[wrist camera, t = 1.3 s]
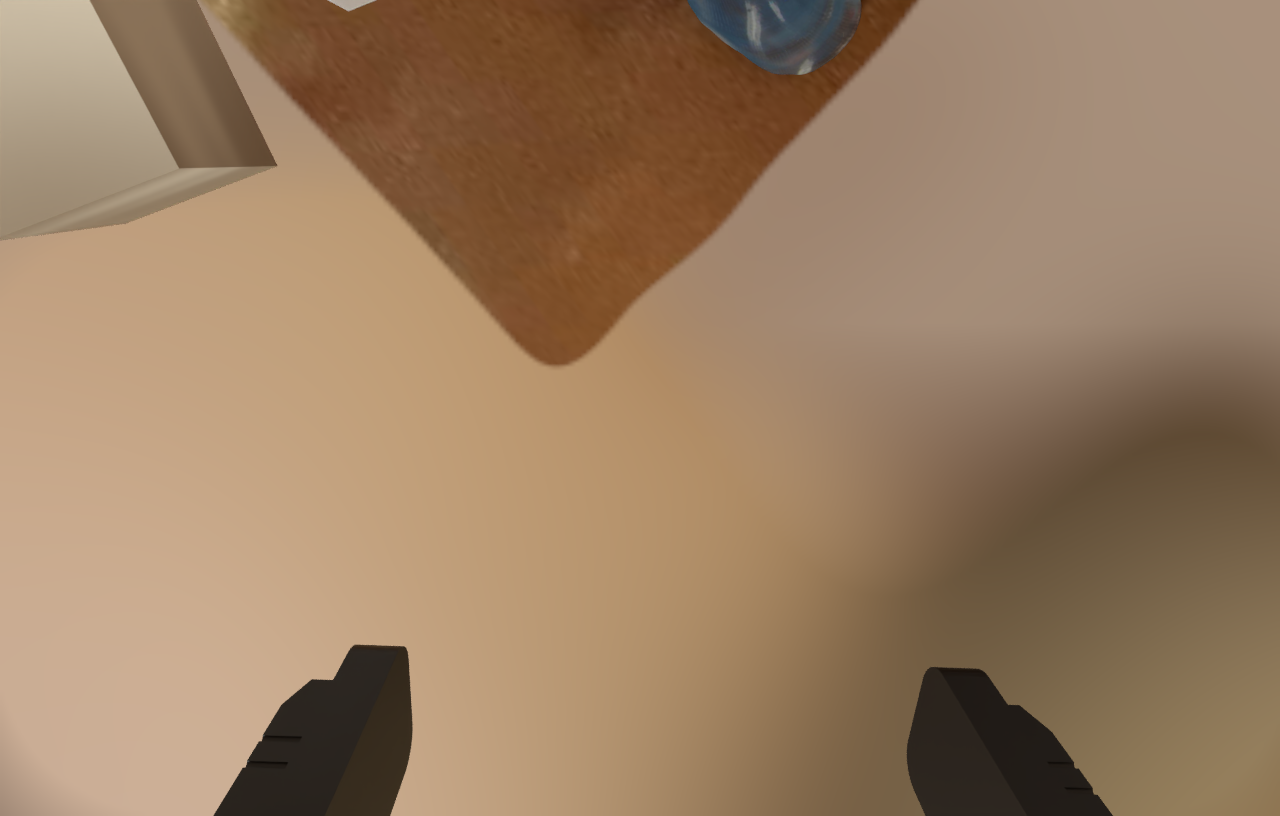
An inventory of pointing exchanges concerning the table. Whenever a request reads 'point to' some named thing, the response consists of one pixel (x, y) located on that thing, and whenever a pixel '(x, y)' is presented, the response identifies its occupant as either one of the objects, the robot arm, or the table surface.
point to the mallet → (114, 113)
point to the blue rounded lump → (782, 30)
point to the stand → (350, 3)
